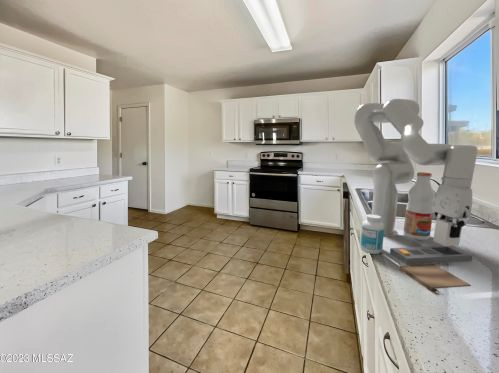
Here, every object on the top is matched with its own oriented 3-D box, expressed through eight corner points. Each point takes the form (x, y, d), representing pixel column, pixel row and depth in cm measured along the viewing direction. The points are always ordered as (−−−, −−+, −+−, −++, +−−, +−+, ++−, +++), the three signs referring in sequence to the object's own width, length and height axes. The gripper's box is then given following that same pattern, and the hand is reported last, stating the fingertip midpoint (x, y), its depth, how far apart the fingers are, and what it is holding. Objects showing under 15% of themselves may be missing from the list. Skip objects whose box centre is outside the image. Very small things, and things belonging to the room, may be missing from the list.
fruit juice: (410, 232, 111) (418, 171, 107) (433, 239, 103) (443, 173, 98) (398, 235, 107) (405, 172, 102) (421, 243, 99) (430, 174, 94)
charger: (433, 240, 87) (436, 217, 86) (447, 240, 88) (451, 217, 86) (444, 246, 83) (448, 221, 81) (458, 245, 84) (463, 221, 82)
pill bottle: (375, 246, 96) (378, 213, 94) (386, 254, 89) (390, 219, 86) (356, 246, 96) (359, 213, 94) (365, 255, 89) (369, 219, 86)
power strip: (389, 256, 88) (390, 246, 87) (449, 253, 91) (451, 243, 90) (405, 267, 80) (407, 256, 80) (471, 263, 83) (473, 253, 82)
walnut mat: (399, 269, 79) (400, 265, 79) (433, 267, 80) (434, 263, 80) (430, 291, 67) (431, 287, 67) (469, 288, 68) (470, 284, 68)
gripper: (425, 178, 89) (418, 226, 93) (471, 187, 73) (460, 245, 76) (443, 178, 90) (436, 225, 94) (493, 187, 74) (482, 244, 77)
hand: (447, 233), depth 85 cm, fingers closed on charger, 4 cm apart
